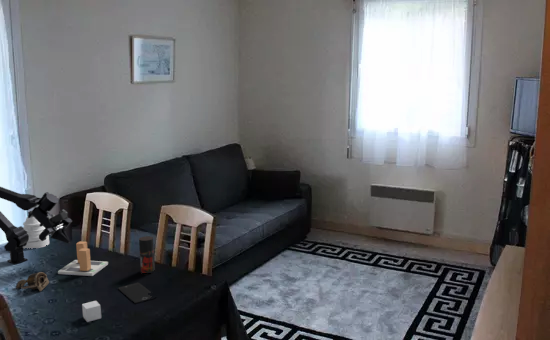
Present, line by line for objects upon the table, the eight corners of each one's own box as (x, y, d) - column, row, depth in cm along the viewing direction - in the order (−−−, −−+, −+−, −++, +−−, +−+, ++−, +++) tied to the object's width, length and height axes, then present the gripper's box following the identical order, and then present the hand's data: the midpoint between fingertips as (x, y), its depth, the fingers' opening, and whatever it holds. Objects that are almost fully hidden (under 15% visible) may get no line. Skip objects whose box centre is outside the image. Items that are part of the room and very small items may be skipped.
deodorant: (138, 272, 234) (135, 239, 231) (147, 268, 239) (145, 235, 236) (148, 275, 231) (146, 241, 228) (157, 270, 236) (155, 237, 234)
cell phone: (135, 305, 203) (135, 302, 203) (117, 289, 217) (117, 287, 217) (157, 298, 208) (157, 296, 208) (138, 284, 223) (138, 282, 222)
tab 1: (77, 262, 242) (76, 243, 240) (81, 260, 245) (79, 241, 243) (84, 263, 241) (83, 243, 240) (88, 260, 244) (86, 241, 243)
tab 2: (80, 270, 233) (78, 250, 231) (83, 268, 236) (82, 248, 234) (87, 271, 232) (85, 251, 230) (91, 268, 235) (89, 248, 233)
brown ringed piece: (27, 284, 210) (50, 270, 217) (9, 274, 216) (31, 261, 224) (32, 299, 213) (54, 285, 220) (13, 288, 219) (35, 276, 227)
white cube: (96, 313, 196) (96, 300, 195) (101, 318, 192) (100, 305, 191) (83, 317, 193) (82, 303, 192) (87, 322, 189) (86, 308, 188)
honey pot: (54, 243, 274) (51, 208, 271) (31, 250, 264) (28, 214, 260) (39, 239, 281) (35, 205, 278) (16, 246, 270) (12, 211, 267)
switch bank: (58, 273, 234) (57, 270, 233) (75, 262, 247) (75, 259, 247) (92, 276, 231) (92, 273, 231) (108, 264, 244) (107, 261, 244)
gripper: (42, 211, 231) (68, 236, 231) (66, 200, 249) (90, 224, 249) (27, 228, 234) (53, 253, 234) (52, 216, 252) (76, 240, 252)
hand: (69, 242), depth 243 cm, fingers closed
